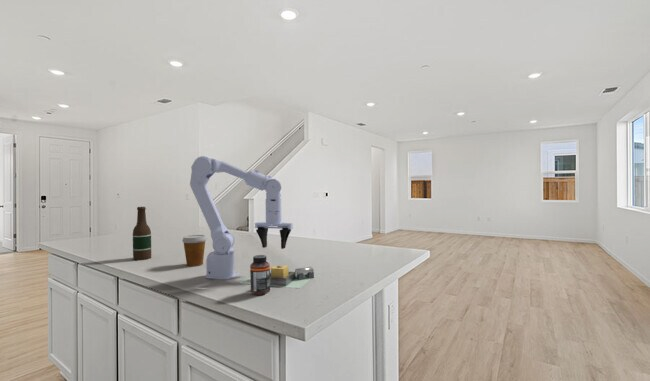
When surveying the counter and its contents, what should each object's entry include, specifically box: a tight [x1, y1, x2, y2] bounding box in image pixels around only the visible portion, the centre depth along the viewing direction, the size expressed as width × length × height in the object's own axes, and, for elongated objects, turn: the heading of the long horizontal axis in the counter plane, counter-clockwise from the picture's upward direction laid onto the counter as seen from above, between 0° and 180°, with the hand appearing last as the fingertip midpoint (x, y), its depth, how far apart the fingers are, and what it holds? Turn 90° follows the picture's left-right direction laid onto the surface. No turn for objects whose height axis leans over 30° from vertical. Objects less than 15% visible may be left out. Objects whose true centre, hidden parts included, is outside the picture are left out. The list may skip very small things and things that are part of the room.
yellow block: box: [270, 264, 290, 278], centre depth 111 cm, size 4×4×5 cm
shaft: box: [294, 266, 315, 280], centre depth 115 cm, size 6×4×4 cm, turn 119°
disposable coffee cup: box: [182, 234, 207, 267], centre depth 138 cm, size 10×10×12 cm
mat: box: [238, 271, 316, 289], centre depth 114 cm, size 22×16×1 cm
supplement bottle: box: [249, 254, 271, 296], centre depth 101 cm, size 6×6×11 cm
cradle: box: [270, 271, 296, 286], centre depth 111 cm, size 8×8×3 cm
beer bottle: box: [132, 206, 152, 261], centre depth 151 cm, size 8×8×24 cm
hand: (273, 247), depth 121 cm, fingers open, 7 cm apart
